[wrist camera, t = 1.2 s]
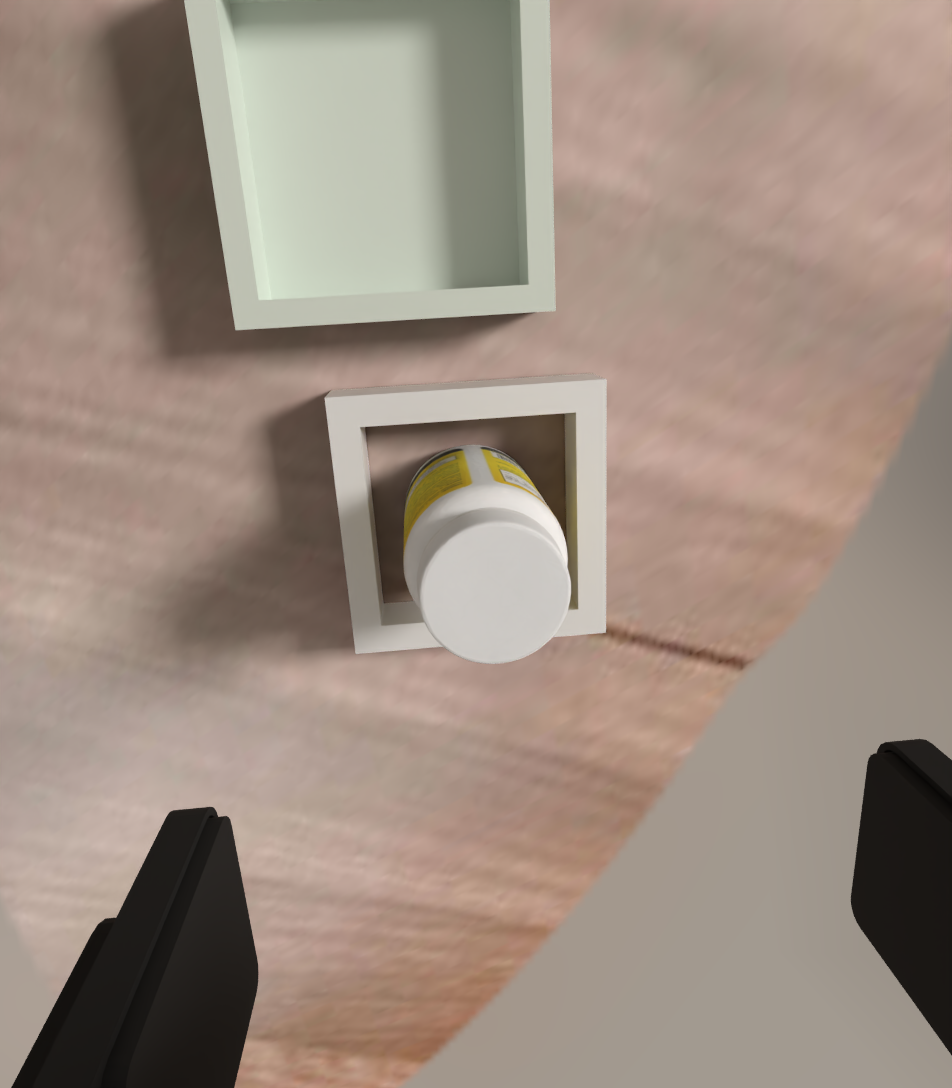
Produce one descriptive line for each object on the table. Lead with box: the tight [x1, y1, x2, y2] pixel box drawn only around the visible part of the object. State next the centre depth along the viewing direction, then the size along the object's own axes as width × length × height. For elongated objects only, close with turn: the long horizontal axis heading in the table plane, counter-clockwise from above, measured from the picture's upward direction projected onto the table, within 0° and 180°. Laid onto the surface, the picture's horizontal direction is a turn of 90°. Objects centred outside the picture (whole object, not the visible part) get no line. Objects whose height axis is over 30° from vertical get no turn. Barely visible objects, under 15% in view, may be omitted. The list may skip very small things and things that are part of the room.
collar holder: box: [325, 373, 606, 654], centre depth 26 cm, size 9×9×2 cm
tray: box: [184, 0, 556, 330], centre depth 22 cm, size 10×10×2 cm
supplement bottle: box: [403, 445, 571, 664], centre depth 23 cm, size 5×5×8 cm
